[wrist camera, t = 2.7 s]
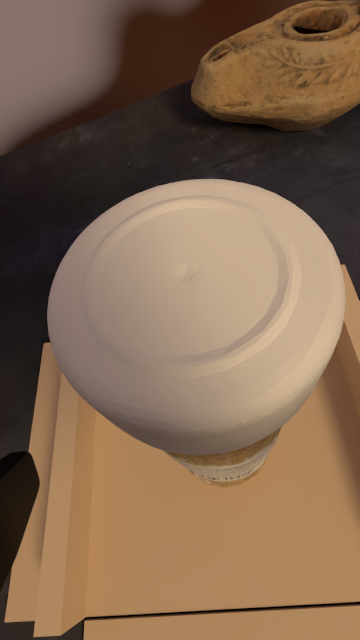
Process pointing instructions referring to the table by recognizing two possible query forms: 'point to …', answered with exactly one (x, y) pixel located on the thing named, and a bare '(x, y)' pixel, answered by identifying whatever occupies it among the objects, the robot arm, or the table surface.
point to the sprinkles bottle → (199, 320)
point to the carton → (194, 524)
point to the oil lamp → (286, 69)
